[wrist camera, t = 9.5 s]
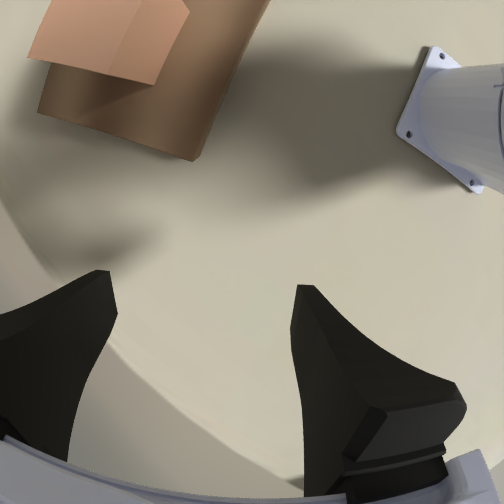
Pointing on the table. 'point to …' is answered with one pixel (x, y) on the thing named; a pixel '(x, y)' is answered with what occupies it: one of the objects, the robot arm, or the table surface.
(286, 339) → the table surface
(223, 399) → the table surface
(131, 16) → the terracotta block
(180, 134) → the walnut block
